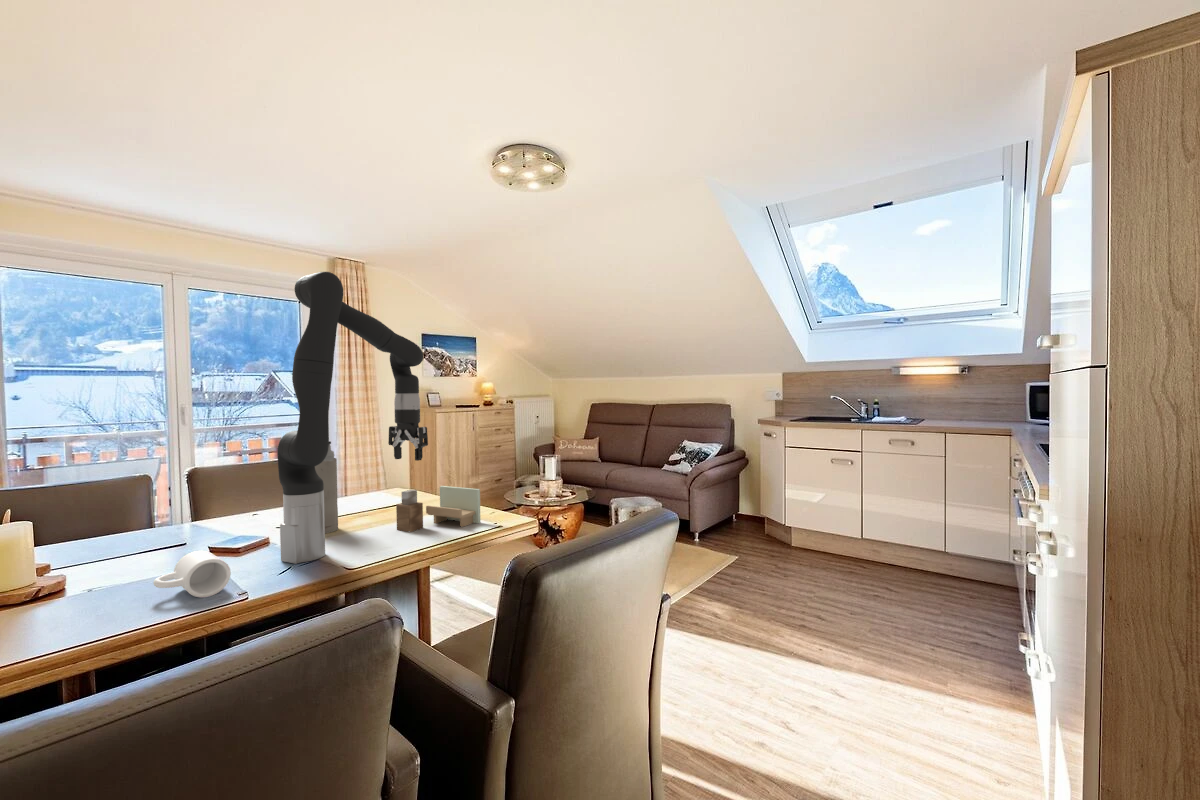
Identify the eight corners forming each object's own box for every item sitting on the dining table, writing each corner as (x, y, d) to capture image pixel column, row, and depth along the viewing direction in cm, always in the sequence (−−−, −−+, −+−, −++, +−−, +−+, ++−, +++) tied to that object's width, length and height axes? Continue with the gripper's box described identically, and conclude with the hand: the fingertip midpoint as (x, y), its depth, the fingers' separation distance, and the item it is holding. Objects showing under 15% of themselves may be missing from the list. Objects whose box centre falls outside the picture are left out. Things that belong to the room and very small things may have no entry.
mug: (217, 580, 119) (216, 546, 118) (231, 591, 112) (230, 554, 112) (149, 597, 109) (148, 560, 109) (160, 609, 103) (159, 570, 103)
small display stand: (462, 529, 160) (462, 494, 160) (424, 524, 167) (423, 490, 167) (480, 522, 168) (479, 489, 168) (442, 518, 175) (442, 485, 174)
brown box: (410, 532, 158) (409, 493, 157) (396, 530, 160) (395, 491, 160) (423, 527, 162) (422, 490, 162) (409, 526, 165) (408, 488, 165)
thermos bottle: (308, 535, 156) (306, 443, 155) (310, 529, 163) (308, 441, 162) (337, 531, 159) (335, 441, 158) (338, 525, 166) (336, 439, 166)
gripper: (381, 408, 160) (382, 460, 161) (415, 408, 154) (416, 462, 155) (399, 407, 167) (400, 457, 167) (433, 407, 161) (434, 459, 161)
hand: (408, 459), depth 161 cm, fingers open, 8 cm apart
